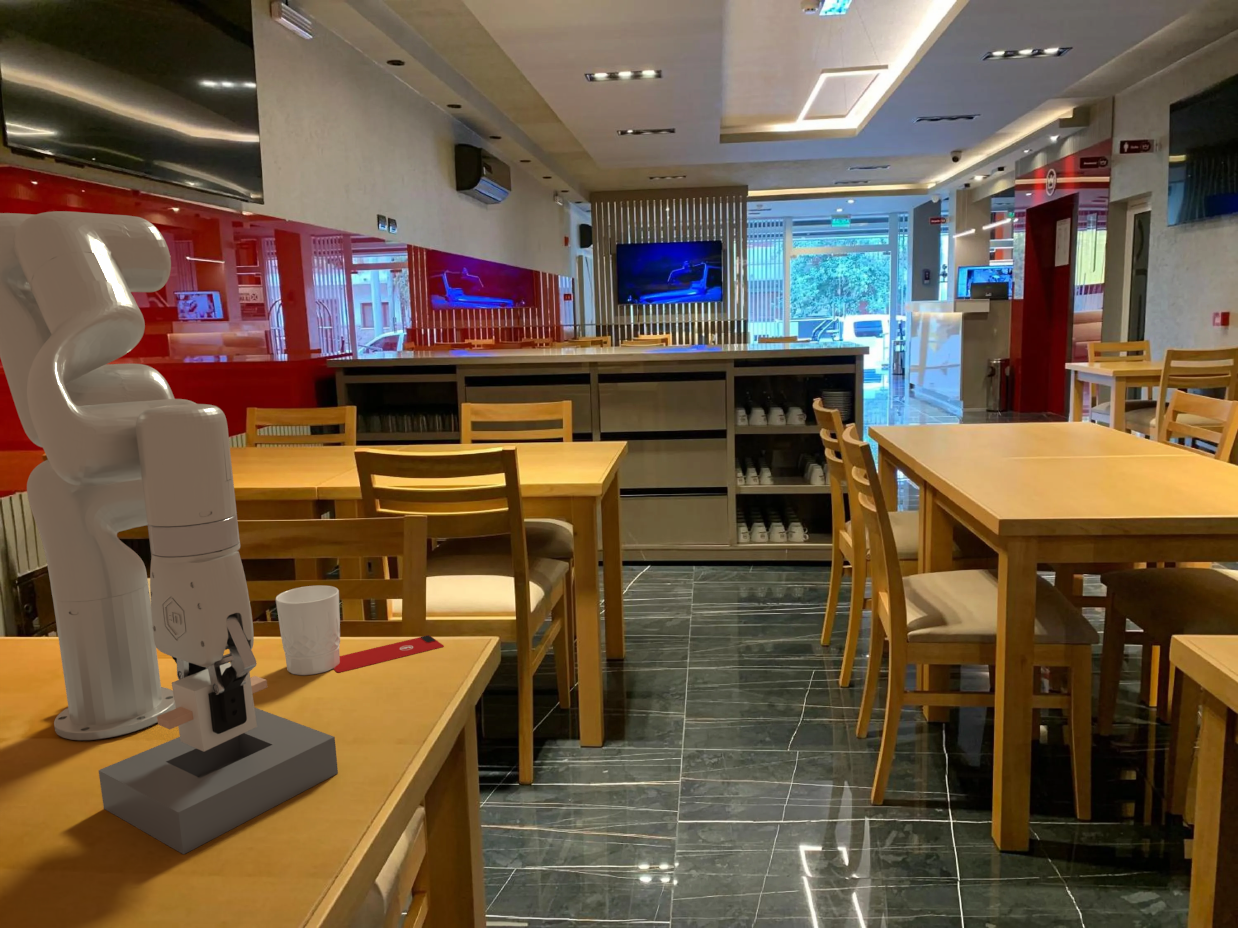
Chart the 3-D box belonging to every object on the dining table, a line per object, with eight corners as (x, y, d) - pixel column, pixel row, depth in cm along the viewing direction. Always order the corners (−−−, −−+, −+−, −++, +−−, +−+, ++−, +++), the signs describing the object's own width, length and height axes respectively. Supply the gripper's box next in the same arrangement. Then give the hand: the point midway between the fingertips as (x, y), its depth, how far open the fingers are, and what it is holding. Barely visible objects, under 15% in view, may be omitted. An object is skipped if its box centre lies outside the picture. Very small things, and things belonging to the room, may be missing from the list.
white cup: (300, 654, 121) (294, 585, 120) (354, 655, 120) (348, 585, 118) (271, 676, 113) (263, 602, 112) (328, 678, 112) (321, 603, 111)
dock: (103, 808, 83) (98, 769, 82) (256, 740, 96) (252, 706, 95) (183, 854, 75) (178, 812, 74) (337, 772, 88) (334, 736, 87)
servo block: (157, 751, 81) (147, 691, 80) (253, 708, 90) (246, 653, 88) (180, 762, 79) (170, 701, 78) (277, 717, 87) (269, 660, 86)
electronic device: (337, 676, 114) (445, 649, 122) (337, 672, 114) (444, 645, 122) (325, 662, 119) (429, 638, 127) (324, 658, 119) (429, 634, 127)
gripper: (109, 536, 83) (132, 717, 86) (206, 557, 73) (229, 760, 76) (185, 520, 89) (205, 690, 92) (284, 538, 80) (303, 726, 82)
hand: (216, 720), depth 84 cm, fingers closed on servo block, 4 cm apart
